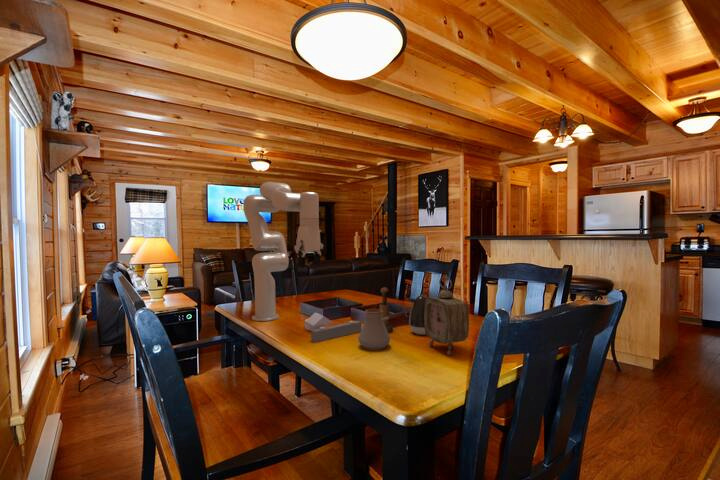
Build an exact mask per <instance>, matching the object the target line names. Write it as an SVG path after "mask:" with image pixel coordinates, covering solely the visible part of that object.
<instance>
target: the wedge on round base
mask: <svg viewBox="0 0 720 480" xmlns="http://www.w3.org/2000/svg"><path fill="white" fill-rule="evenodd" d="M333 323H334V322H333V321H332V320H330V319H329V318H327V317H326V316H324V315H322V314H320V313H318V312H316V311H315V312H314V313H312V314H311V316H309V318H306V319H305V320H304V329H305V330H307V331H311V330H314V329H319V328H320V327H327V325H329V324H333Z"/></svg>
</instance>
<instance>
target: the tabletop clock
mask: <svg viewBox="0 0 720 480" xmlns="http://www.w3.org/2000/svg"><path fill="white" fill-rule="evenodd" d="M443 279H444V280H446V281H447V280H448V282H449V283H450V286H449V287H448V285H446V284H444V285H442V283H441V281H442V280H443ZM438 283H439V287H440V288H441V289H442V290H440V291H439V292H438V294H437V296H435V297H427V298H426V299H425V303H424V327H425V333H426V336H427V337H428V338H429V339H431V340H430V341H429V342H428V345H429V346H430V347H432V346H434V342H437V343H439V344H442V345H445V344H447V345H448V350H447V352H446V354H447V356H452V354H453V351H452V350H453V349H454V348H455V346H454V344H453V343H459V342H465V341H467V339H468V337H469V331H470V311H469V310H470V309H469V305H468V304H467V303H466V302H465V301H463V300H461V299H459V298H457V297H454V293H452V291H450V290H451V288H452V287H453V282H452V280H451V279H450V277H447V276H442V277H440V278H439V282H438Z"/></svg>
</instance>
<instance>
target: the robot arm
mask: <svg viewBox="0 0 720 480" xmlns="http://www.w3.org/2000/svg"><path fill="white" fill-rule="evenodd" d="M259 193H260V194H249V195H247V196H246V197H245V198H244V200H243V206H242V207H243V209H242V210H243V213H244V216H245V219H246V220H247V223H248V224H247V225H248V227H249V232H250V233H249V234H250V239H251V245H252V247H253V249H254V251H259V253H256V254H254V255H253V256H252V258H251V266H252V270H253V277H254V278H253V279H254V310H255V311H254V315H252V316H251V320H252V321H255V322H269V321H274V320H278V319H279V318H280V315H279V314H278V313H276V312H277V311H276V310H277V309H276V308H277V307H276V281H275V278H274V277H273V275H272V274H271V273H273V272H274V273H275V272H283V271H286V270H287V269H288V267H289V264H290V263H289V262H290V261H289V255H288V250H287V249H288V248H287V243H286V239H285V236H284V235H283V233H281V232H280V231H276V230H273V231H272V230H271V231H270V230H269V227H268V223H267V220H266V219H265V218H264V217H263V215H262V214H260V213H267V214H268V213H271V214H275V213H278V212H280V211H284V212H298V213H299V227H298V230H297V234H296V235H297V238H296V244H295V245H294V251H295V254H296V256H297V258H298V259H297V261H298V262H297V264H298V265H297V266H298V268H306V266H307V265H306V264H307V261H306V256H305V255H306V254H307V253H313V255H312V256H313V259H312V261H313V264H312V265H313V266H321V265H322V264H321V256H322V252H323V248H324V244H323V243H322V242H321V232H320V219H319V218H320V214H319V213H320V208H319V207H320V206H319V205H320V204H319V203H320V202H319V194H318V193H317V192H314V191H303V192H301V193H298V192H296V193H295V192H292V188H291V186H290V185H288V184H287V183H285V182H277V181H276V182H275V181H274V182H273V181H267V182H266V181H265V182H264V183H262V184H261V185H260V188H259ZM261 251H262V252H261ZM263 251H264V252H263ZM266 251H267V252H266ZM271 251H273V252H271Z"/></svg>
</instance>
